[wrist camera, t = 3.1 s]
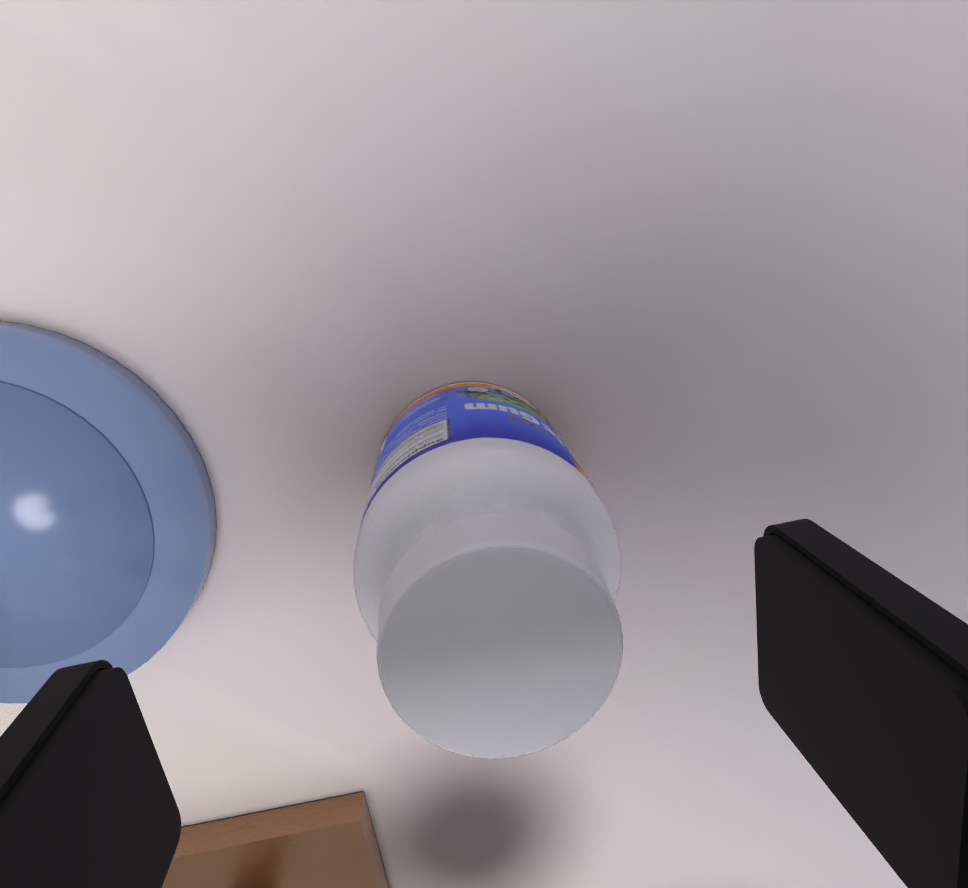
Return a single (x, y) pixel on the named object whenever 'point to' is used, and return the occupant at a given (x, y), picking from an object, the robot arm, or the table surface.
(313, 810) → the balance
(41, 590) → the dish
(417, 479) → the pill bottle
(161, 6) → the table surface
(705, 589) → the table surface
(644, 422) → the table surface
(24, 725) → the robot arm
